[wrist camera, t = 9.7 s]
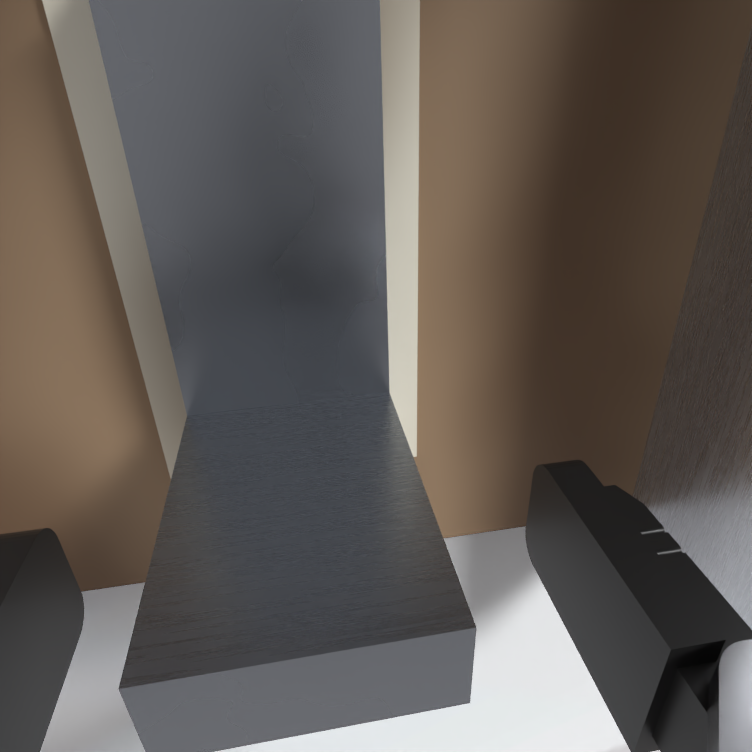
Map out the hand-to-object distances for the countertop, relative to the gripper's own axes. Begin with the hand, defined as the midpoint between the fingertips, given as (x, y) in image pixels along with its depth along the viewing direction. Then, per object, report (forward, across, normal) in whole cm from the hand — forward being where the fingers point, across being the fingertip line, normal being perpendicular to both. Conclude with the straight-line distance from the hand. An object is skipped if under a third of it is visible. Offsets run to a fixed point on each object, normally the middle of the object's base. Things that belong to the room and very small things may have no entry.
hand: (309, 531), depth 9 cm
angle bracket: (+4, 0, -4) cm, 6 cm away
